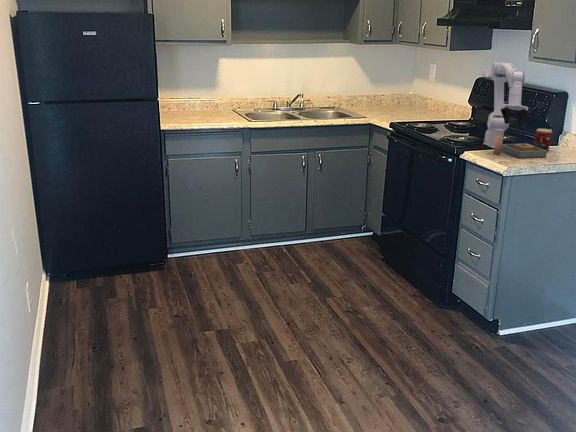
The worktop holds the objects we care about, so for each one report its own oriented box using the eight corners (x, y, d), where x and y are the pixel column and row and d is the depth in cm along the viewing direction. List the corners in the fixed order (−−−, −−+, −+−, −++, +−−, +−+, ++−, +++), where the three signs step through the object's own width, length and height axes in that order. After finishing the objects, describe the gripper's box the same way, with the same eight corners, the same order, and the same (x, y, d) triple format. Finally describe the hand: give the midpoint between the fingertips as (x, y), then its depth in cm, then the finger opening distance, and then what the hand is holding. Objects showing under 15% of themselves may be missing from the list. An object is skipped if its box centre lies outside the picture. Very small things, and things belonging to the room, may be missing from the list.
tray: (499, 150, 304) (500, 142, 303) (525, 150, 309) (526, 141, 307) (518, 158, 290) (520, 149, 288) (546, 157, 294) (547, 148, 293)
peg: (492, 153, 298) (494, 136, 295) (497, 153, 299) (499, 135, 296) (495, 154, 295) (498, 137, 292) (500, 154, 296) (503, 137, 293)
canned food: (531, 150, 308) (535, 130, 304) (534, 148, 314) (538, 127, 310) (546, 153, 304) (550, 132, 300) (549, 150, 310) (553, 129, 306)
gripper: (508, 93, 279) (506, 122, 280) (533, 96, 284) (531, 125, 284) (498, 95, 286) (496, 123, 287) (523, 99, 291) (521, 126, 291)
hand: (513, 124), depth 286 cm, fingers open, 7 cm apart
